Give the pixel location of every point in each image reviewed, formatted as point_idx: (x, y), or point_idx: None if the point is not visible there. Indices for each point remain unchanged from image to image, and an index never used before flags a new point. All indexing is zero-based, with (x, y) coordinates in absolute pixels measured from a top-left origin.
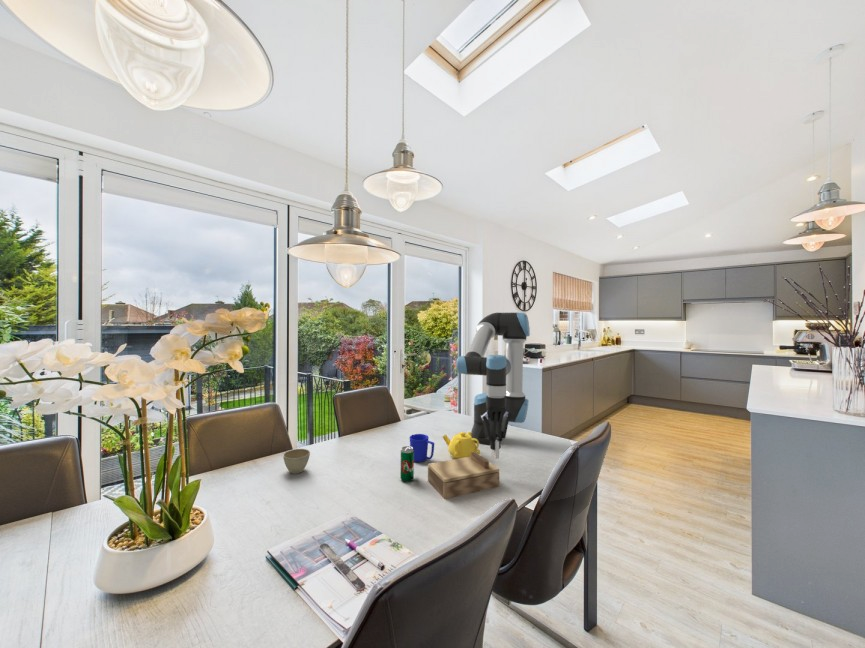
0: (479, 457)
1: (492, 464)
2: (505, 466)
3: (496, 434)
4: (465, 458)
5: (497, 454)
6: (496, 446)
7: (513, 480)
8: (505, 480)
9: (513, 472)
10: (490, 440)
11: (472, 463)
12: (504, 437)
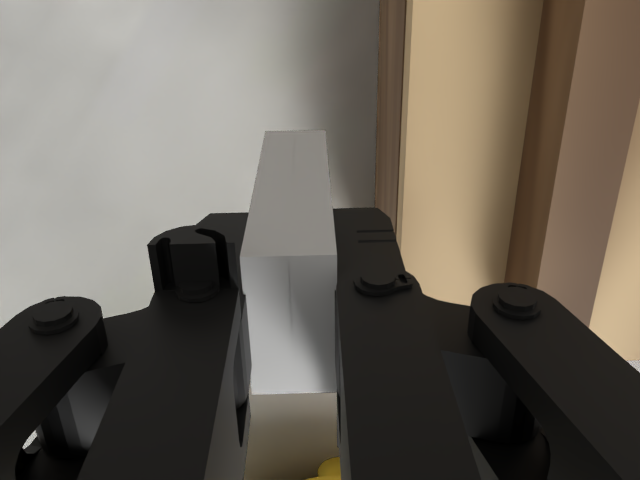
0: (602, 178)
1: (414, 61)
2: (61, 294)
3: (237, 448)
4: (601, 337)
5: (292, 152)
6: (314, 209)
7: (127, 9)
8: (209, 42)
9: (41, 165)
10: (508, 283)
11: (634, 188)
12: (51, 305)
